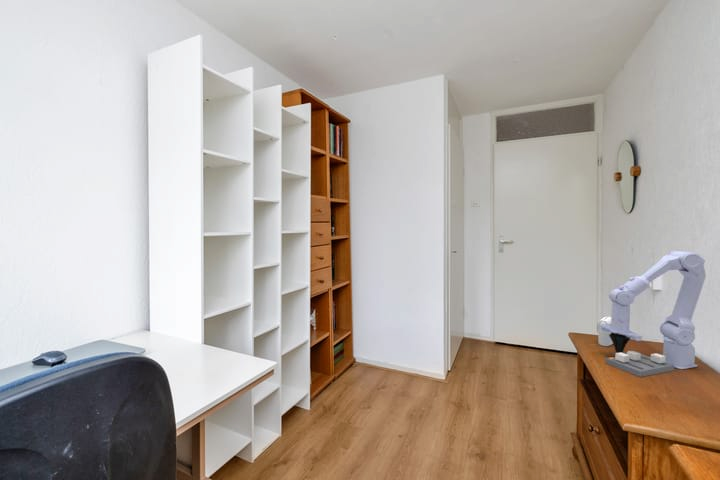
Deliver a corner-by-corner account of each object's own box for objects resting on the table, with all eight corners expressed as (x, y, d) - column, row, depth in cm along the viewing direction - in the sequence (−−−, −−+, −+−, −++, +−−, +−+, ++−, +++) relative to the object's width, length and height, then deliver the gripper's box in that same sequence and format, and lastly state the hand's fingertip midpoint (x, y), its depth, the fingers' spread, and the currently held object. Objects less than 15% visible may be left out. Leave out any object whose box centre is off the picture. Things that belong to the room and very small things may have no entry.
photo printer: (605, 340, 152) (606, 314, 151) (616, 342, 148) (617, 316, 148) (596, 344, 146) (597, 317, 146) (607, 347, 143) (608, 319, 142)
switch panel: (641, 357, 132) (642, 351, 132) (677, 369, 120) (678, 363, 120) (605, 363, 126) (605, 357, 126) (639, 377, 115) (640, 370, 114)
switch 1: (621, 358, 125) (621, 352, 125) (629, 361, 122) (629, 355, 122) (615, 359, 124) (615, 353, 124) (623, 362, 121) (623, 356, 121)
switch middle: (632, 356, 127) (632, 350, 126) (640, 359, 124) (640, 353, 124) (626, 357, 126) (626, 351, 126) (635, 360, 123) (635, 354, 123)
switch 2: (656, 359, 124) (656, 353, 124) (665, 362, 121) (665, 356, 121) (650, 360, 123) (650, 354, 123) (659, 363, 120) (660, 357, 120)
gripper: (595, 315, 135) (594, 347, 136) (633, 325, 121) (631, 360, 122) (607, 313, 137) (606, 345, 138) (646, 323, 123) (644, 358, 124)
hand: (619, 352), depth 130 cm, fingers closed
